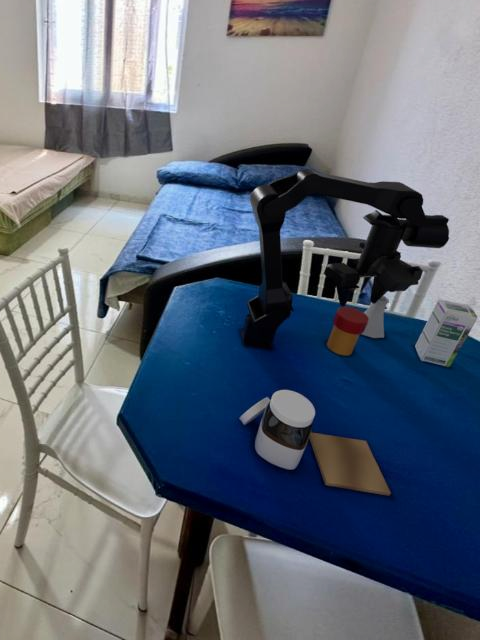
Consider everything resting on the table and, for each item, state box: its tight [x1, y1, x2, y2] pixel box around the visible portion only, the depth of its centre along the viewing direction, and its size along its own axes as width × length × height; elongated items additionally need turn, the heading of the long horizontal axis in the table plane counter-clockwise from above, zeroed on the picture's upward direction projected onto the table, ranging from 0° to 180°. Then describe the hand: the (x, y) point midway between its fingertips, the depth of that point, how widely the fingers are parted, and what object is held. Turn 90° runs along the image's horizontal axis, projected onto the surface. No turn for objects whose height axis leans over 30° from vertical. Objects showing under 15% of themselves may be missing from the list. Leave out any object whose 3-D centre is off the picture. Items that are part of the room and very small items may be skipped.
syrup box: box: [414, 298, 478, 368], centre depth 94 cm, size 6×6×14 cm
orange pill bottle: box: [326, 324, 361, 356], centre depth 97 cm, size 6×6×10 cm
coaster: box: [309, 432, 392, 497], centre depth 72 cm, size 10×10×1 cm
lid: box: [332, 306, 369, 335], centre depth 95 cm, size 6×6×3 cm
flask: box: [361, 295, 390, 339], centre depth 103 cm, size 7×7×10 cm
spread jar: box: [238, 389, 316, 471], centre depth 72 cm, size 12×11×12 cm
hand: (357, 304), depth 93 cm, fingers open, 8 cm apart
